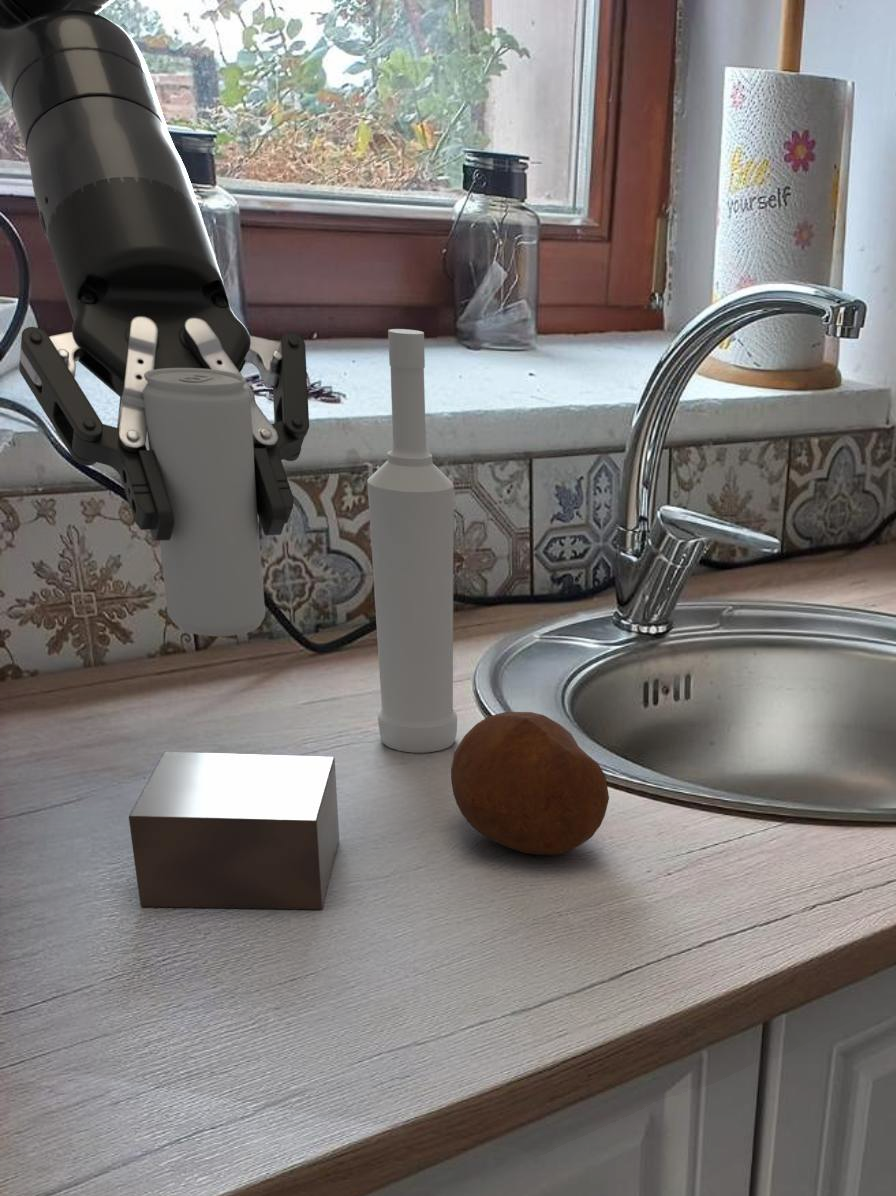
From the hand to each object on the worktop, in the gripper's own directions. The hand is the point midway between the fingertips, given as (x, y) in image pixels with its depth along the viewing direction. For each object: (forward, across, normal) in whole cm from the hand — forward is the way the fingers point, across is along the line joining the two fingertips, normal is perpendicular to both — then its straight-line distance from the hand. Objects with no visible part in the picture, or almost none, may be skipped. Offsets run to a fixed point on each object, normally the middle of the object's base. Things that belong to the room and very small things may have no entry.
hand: (222, 527), depth 75 cm
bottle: (+3, +16, +23) cm, 28 cm away
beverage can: (+2, 0, +6) cm, 6 cm away
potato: (+15, +15, +10) cm, 24 cm away
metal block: (+13, -1, +12) cm, 18 cm away
